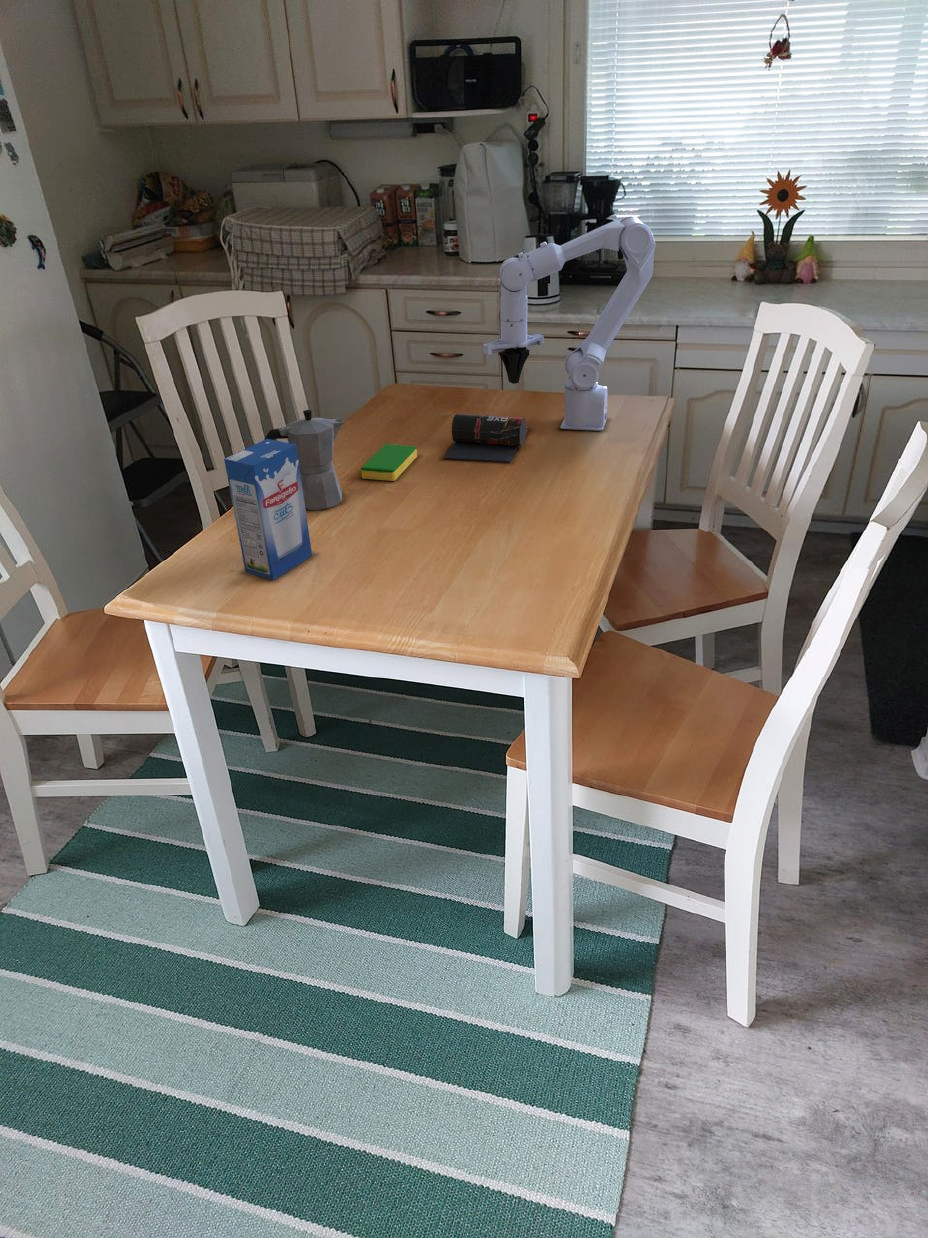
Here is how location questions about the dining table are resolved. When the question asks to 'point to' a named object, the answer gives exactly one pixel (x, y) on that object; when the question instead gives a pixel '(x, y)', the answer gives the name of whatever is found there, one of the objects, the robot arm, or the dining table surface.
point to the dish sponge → (389, 462)
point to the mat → (481, 452)
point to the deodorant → (489, 429)
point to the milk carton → (269, 507)
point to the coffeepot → (314, 458)
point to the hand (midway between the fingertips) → (513, 382)
